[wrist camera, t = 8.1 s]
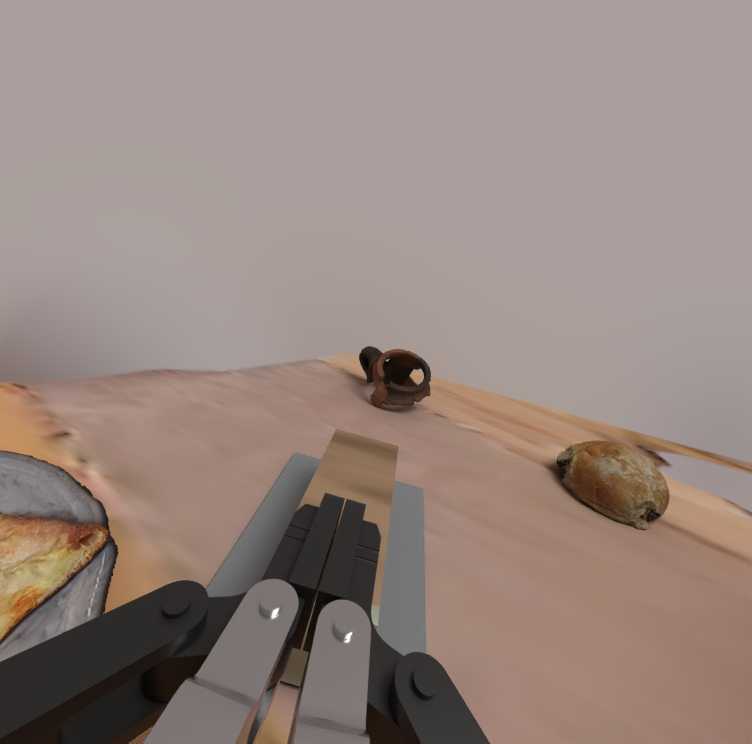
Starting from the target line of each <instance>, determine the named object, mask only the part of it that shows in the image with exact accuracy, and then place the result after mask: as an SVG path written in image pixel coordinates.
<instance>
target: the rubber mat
mask: <svg viewBox="0 0 752 744" xmlns="http://www.w3.org/2000/svg"><path fill="white" fill-rule="evenodd" d="M320 462H321V460H320V459H316V458H313V457H309V456H306V455H302V454H299V453H294V455H293V456H292V458H291V460H290V461H289V463H288V464H287V466H286V467H285V469H284V470H283V472H282V473H281V475H280V477H279V478H278V480H277V481H276V483H275V484H274V486H273V487H272V489H271V490H270V492H269V494H268V495H267V497H266V498H265V500H264V501H263V503H262V504H261V506H260V507H259V509H258V510H257V512H256V514H255V515H254V517H253V518H252V520H251V521H250V523H249V524H248V526H247V527H246V529H245V531H244V532H243V534H242V535H241V537H240V538H239V540H238V541H237V543H236V544H235V546H234V548H233V549H232V551H231V552H230V554H229V555H228V557H227V558H226V560H225V561H224V563H223V564H222V566H221V568H220V569H219V571H218V572H217V574H216V575H215V577H214V578H213V580H212V581H211V583H210V585H209V586H208V588H207V589H206V591H207V593H208V596H209V597H226V596H235V595H239V594H242V593H245V592H247V591H248V590H250V589H251V588H252V587H253V586H254V585H255V584H257V583H259V581H260V580H261V579H262V577H263V575H264V573H265V571H266V569H267V567H268V565H269V563H270V561H271V559H272V557H273V555H274V553H275V551H276V549H277V547H278V545H279V543H280V541H281V539H282V537H283V536H284V533H285V531H286V529H287V527H288V526H289V523H290V521H291V519H292V517H293V515H294V513H295V512H296V510H297V508H298V506H299V504H300V502H301V500H302V498H303V496H304V494H305V492H306V490H307V488H308V486H309V484H310V482H311V480H312V478H313V476H314V474H315V472H316V470H317V468H318V466H319V464H320ZM376 631H377V633H378V634H379V636H380V637H381V638H382V639H383V640H384V641H385V642H386V643H387V644H388V645H389V646H391V647H392V648H393V649H395V650H396V651H398V652H399V653H400V654H402V655H403V656H405V655H406V654H409V653H411V652H422V653H425V654H426V626H425V566H424V507H423V489H422V488H418V487H415V486H411V485H408V484H404V483H401V482H397V481H394V488H393V497H392V505H391V514H390V523H389V532H388V540H387V549H386V558H385V567H384V576H383V584H382V593H381V602H380V611H379V619H378V627H377V629H376Z"/></svg>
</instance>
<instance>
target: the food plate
mask: <svg viewBox="0 0 752 744" xmlns="http://www.w3.org/2000/svg"><path fill="white" fill-rule="evenodd" d="M92 496H93V495H92V493H91V492H90V490H89V489H87V488H86V487H85V486H81V484H80V483H79V482H77V481H76V480H75V479H74V478H73V476H71V475H70V474H69V473H68V472H66V471H65V470H64V469H62V468H60V467H59V466H54V465H53V464H50V463H48V462H46V461H44V460H39V459H36V458H34V457H33V456H28V455H23V454H19V453H14V452H9V451H0V662H1V661H3V660H5V659H7V658H9V657H12V656H14V655H16V654H18V653H20V652H22V651H25V650H27V649H29V648H31V647H33V646H35V645H38V644H40V643H42V642H44V641H46V640H48V639H51V638H53V637H55V636H57V635H59V634H61V633H64V632H66V631H68V630H70V629H72V628H74V627H77V626H79V625H81V624H83V623H85V622H87V621H90V620H92V619H94V618H96V617H98V616H100V615H103V614H102V613H103V612H105V603H106V598H107V596H108V595H107V593H108V589H109V586H110V583H109V582H111V576H113V568H115V567H114V565H115V564H116V558H117V554H118V551H117V550H118V548H117V547H118V546H117V545H116V544H115V542H114V539H113V538H112V537H111V536H110V532H109V531H110V530H109V526H108V521H109V520H108V517H107V515H106V511H105V508H104V507H103V505H102V503H101V502H100V501H99V500H97V499H96V498H94V497H92Z"/></svg>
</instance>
